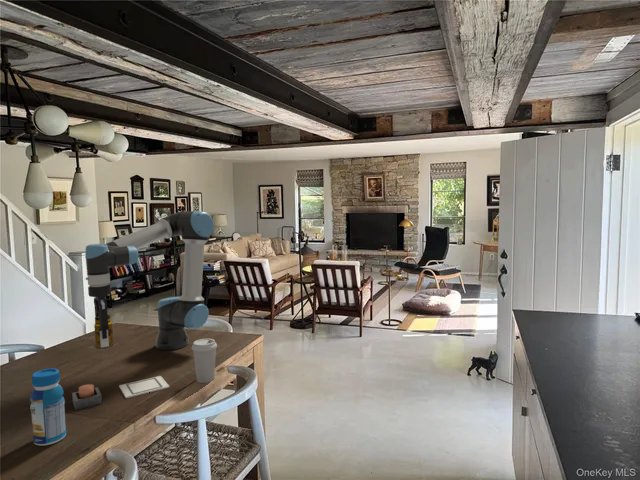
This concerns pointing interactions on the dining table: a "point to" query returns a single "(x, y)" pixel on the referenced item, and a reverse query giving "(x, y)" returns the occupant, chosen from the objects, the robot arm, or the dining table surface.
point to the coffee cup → (204, 359)
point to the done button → (86, 390)
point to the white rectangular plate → (143, 386)
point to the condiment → (97, 335)
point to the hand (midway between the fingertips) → (103, 344)
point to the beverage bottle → (47, 407)
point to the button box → (86, 400)
